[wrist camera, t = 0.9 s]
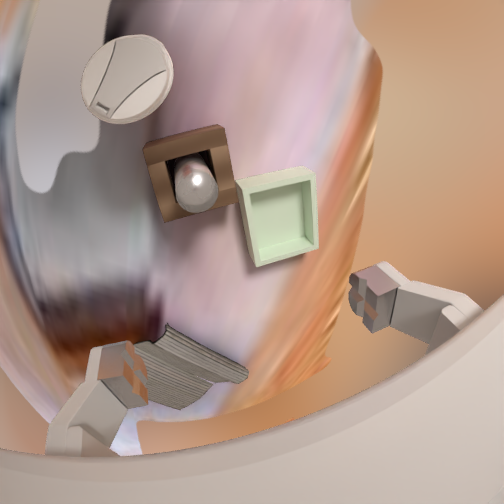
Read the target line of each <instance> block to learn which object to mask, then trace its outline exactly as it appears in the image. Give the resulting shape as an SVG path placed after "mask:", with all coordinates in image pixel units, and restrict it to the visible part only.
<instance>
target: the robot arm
mask: <svg viewBox="0 0 504 504" xmlns="http://www.w3.org/2000/svg"><path fill="white" fill-rule="evenodd" d="M349 283H350V284H351V285H352V288H351V289H350V291H349V303H350V306H351V308H352V310H353V312H354V313H355V314H356V315H358V316H361V317H363V323H364V325H365V326H366V327H367V328H368V330H369V331H370V332H371V333H374V332H377V331H379V330H381V329H383V328H385V327H388V326H390V327H392V328H395V329H397V330H399V331H401V332H404V333H406V334H408V335H410V336H412V337H414V338H417V339H419V340H421V341H423V342H425V343H428V344H429V346H428V348H427V351H426V353H425V356H423V357H422V358H420V359H418V360H417V361H415V362H414V363H412V364H410V365H409V366H407V367H406V368H404V369H402V370H400V371H399V372H397V373H395V374H393V375H392V376H390V377H388V378H386V379H385V380H383V381H381V382H379V383H377V384H375V385H373V386H371V387H369V388H367V389H365V390H363V391H361V392H359V393H357V394H355V395H353V396H351V397H349V398H347V399H344V400H342V401H340V402H338V403H335V404H333V405H331V406H329V407H326V408H324V409H321V410H319V411H317V412H314V413H312V414H309V415H307V416H304V417H301V418H299V419H296V420H293V421H290V422H287V423H284V424H282V425H279V426H276V427H273V428H269V429H266V430H263V431H260V432H256V433H253V434H249V435H246V436H242V437H238V438H235V439H231V440H227V441H223V442H219V443H214V444H210V445H204V446H199V447H194V448H189V449H183V450H177V451H171V452H163V453H154V454H146V455H134V456H120V455H118V454H117V453H115V452H114V451H112V450H111V449H109V448H110V446H111V444H112V442H113V440H114V438H115V435H116V433H117V431H118V429H119V427H120V425H121V423H122V421H123V419H124V417H125V415H126V413H127V411H128V409H130V408H135V407H141V406H146V405H148V390H147V388H146V387H145V386H144V385H145V383H146V382H147V380H148V378H147V370H146V366H145V364H144V361H143V360H142V358H141V357H140V356H139V355H137V354H135V347H134V346H133V345H132V343H131V342H130V341H124V342H119V343H114V344H109V345H104V346H100V347H94V348H92V349H91V351H90V356H89V361H88V366H87V371H86V377H85V382H84V383H81V384H80V385H79V387H78V388H77V389H76V390H75V392H74V393H73V394H72V396H71V397H70V398H69V399H68V401H67V402H66V403H65V405H64V406H63V407H62V409H61V410H60V411H59V413H58V414H57V415H56V417H55V418H54V419H53V421H52V422H51V423H50V425H49V427H48V433H47V441H46V450H45V455H40V454H32V453H24V452H18V451H12V450H7V449H1V448H0V504H504V294H503V295H502V296H501V297H500V298H499V299H498V300H497V301H496V302H495V303H493V304H492V305H491V306H490V307H489V308H488V309H487V310H485V311H484V310H483V309H482V308H481V307H480V306H478V305H477V304H476V303H475V302H474V301H473V300H471V299H470V298H469V297H468V296H467V295H466V294H464V293H460V292H456V291H452V290H448V289H444V288H441V287H437V286H433V285H429V284H425V283H421V282H417V281H412V282H411V281H409V280H408V279H407V278H406V277H405V276H403V275H402V274H401V273H400V272H399V271H397V270H396V269H395V268H394V267H392V266H391V265H390V264H389V263H387V262H385V261H382V262H379V263H377V264H374V265H373V266H370V267H367V268H365V269H362V270H360V271H357V272H354V273H352V274H351V275H350V277H349Z"/></svg>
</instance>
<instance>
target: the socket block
mask: <svg viewBox="0 0 504 504" xmlns="http://www.w3.org/2000/svg"><path fill="white" fill-rule="evenodd" d="M204 150H207V155H208V160H209V164H210V169H211V173H212V176H213V178H214V179H215V181H216V183H217V186H218V197H217V200H216V202H215V203H214V205H213V206H212V207H211V208H209V209H208V210H211V209H215V208H219V207H222V206H226V205H230V204H234V203H238V197H237V192H236V187H235V181H234V176H233V171H232V165H231V160H230V155H229V150H228V144H227V139H226V134H225V128H224V127H222V126H220V125H218V124H216V125H212V126H207V127H203V128H199V129H195V130H191V131H187V132H183V133H179V134H175V135H172V136H168V137H165V138H161V139H158V140H154V141H151V142H148V143H146V144H145V146H144V148H143V153H144V157H145V161H146V164H147V168H148V171H149V175H150V178H151V181H152V185H153V188H154V191H155V195H156V198H157V201H158V204H159V207H160V211H161V214H162V217H163V220H164V223H166V222H169V221H172V220H176V219H179V218H183V217H186V216H190V215H193V214H197V213H193V212H189V211H186V210H185V209H183V208H182V207H181V206H180V205H179V203H178V201H177V198H176V190H175V188H174V185H173V181H172V177H171V173H170V170H169V166H168V162H167V160H170V159H173V158H177V157H181V156H184V155H188V154H192V153H196V152H200V151H204ZM208 210H206V211H208ZM203 212H204V211H203Z"/></svg>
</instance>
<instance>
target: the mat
mask: <svg viewBox="0 0 504 504" xmlns="http://www.w3.org/2000/svg"><path fill="white" fill-rule="evenodd" d="M167 324H168V323H167ZM165 327H166V331H165V333H164V335H163V336H162V337H160V338H159V339H158V340H157V341H155V342H152V341H150V340H149V341H142V342H138V343H136V344H134V345H133V346H134V347H135V354H137V355H139V356H140V357H141V358H142V360H143V361H144V364H145V366H146V370H147V378H148V380H147V382H146V383H145V385H144V386H145V387H146V388H147V390H148V400H151V401H154V402H157V403H160V404H163V405H166V406H169V407H172V408H175V409H178V410H181V409H182V408H185V407H187V406H188V405H190V404H192V403H193V402H195V401H196V400H198V399H200V398H201V397H202V396H203V395H204V394H205V393H206V392H207V390H208V389H209V388H210V387H211V386H212V385H213V384H211V383H209V382H207V381H205V380H203V379H201V378H204V379H206V380H209V381H212V382H215V383H218V382H228V381H231V382H233V383H237V384H239V383H241V382H243V381H244V380H245V379H247V378H248V375H249V371H248V370H247V369H246V368H245V367H243V366H241V365H240V364H238V363H236V362H234V361H232V360H230V359H228V358H227V357H225V356H222V355H220V354H218V353H216V352H214V351H212V350H210V349H208V348H207V347H205V346H203V345H201V344H199V343H197V342H196V341H194V340H192V339H191V338H189V337H187V336H185V335H183V334H182V333H180V332H178V331H176V330H175V329H173V328H171V327H170V326H169V325H165ZM195 375H196V376H195ZM197 376H198V377H197ZM199 377H201V378H199ZM215 383H214V384H215Z"/></svg>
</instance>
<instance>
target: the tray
mask: <svg viewBox="0 0 504 504" xmlns="http://www.w3.org/2000/svg"><path fill="white" fill-rule="evenodd" d="M235 183H236V188H237V193H238V199H239V204H240V209H241V215H242V220H243V225H244V230H245V236H246V241H247V246H248V251H249V254H250V256H251V258H252V260H253V262H254V264H255V266H256V267H259V266H262V265H266V264H269V263H273V262H276V261H279V260H283V259H286V258H289V257H292V256H296V255H299V254H302V253H306V252H309V251H312V250H315V249H319V242H318V212H317V192H316V176H315V173H314V172H313V171H311V170H309V169H307V168H306V167H304V166H298V167H293V168H288V169H283V170H279V171H274V172H269V173H265V174H260V175H256V176H252V177H247V178H243V179H239V180H235Z"/></svg>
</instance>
